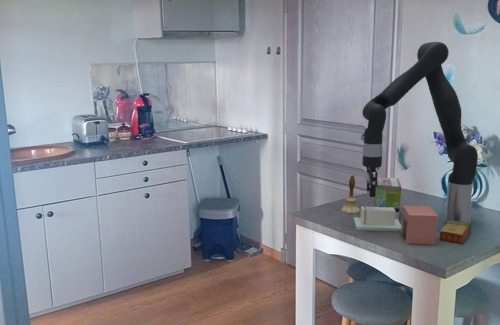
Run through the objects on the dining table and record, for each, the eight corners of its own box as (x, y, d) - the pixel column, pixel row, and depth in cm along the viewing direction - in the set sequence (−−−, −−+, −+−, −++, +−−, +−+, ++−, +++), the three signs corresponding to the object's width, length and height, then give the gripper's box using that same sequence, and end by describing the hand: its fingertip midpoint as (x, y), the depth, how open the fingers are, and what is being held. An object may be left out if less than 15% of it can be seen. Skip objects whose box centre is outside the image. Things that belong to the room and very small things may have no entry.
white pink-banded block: (392, 221, 206) (393, 207, 204) (394, 225, 201) (395, 210, 200) (360, 220, 207) (361, 206, 206) (361, 224, 203) (362, 209, 201)
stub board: (397, 221, 209) (397, 218, 209) (403, 231, 198) (403, 228, 197) (353, 220, 211) (353, 217, 211) (356, 229, 199) (356, 227, 199)
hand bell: (343, 207, 229) (344, 172, 226) (361, 209, 226) (363, 174, 223) (339, 212, 222) (340, 177, 218) (358, 214, 219) (360, 178, 215)
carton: (438, 241, 189) (439, 230, 188) (448, 228, 202) (449, 218, 201) (462, 245, 184) (463, 234, 184) (470, 232, 198) (471, 222, 197)
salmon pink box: (427, 233, 196) (429, 206, 194) (435, 244, 184) (437, 216, 182) (400, 232, 197) (402, 205, 195) (406, 243, 185) (408, 215, 183)
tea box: (399, 220, 211) (401, 186, 208) (374, 218, 213) (376, 184, 210) (396, 209, 226) (398, 177, 222) (373, 208, 228) (375, 176, 224)
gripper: (385, 158, 191) (383, 199, 195) (379, 150, 205) (377, 189, 208) (365, 157, 192) (363, 198, 195) (360, 150, 206) (359, 189, 209)
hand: (370, 193), depth 202 cm, fingers open, 8 cm apart
